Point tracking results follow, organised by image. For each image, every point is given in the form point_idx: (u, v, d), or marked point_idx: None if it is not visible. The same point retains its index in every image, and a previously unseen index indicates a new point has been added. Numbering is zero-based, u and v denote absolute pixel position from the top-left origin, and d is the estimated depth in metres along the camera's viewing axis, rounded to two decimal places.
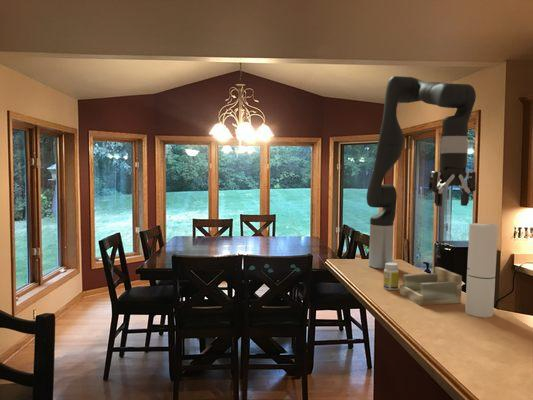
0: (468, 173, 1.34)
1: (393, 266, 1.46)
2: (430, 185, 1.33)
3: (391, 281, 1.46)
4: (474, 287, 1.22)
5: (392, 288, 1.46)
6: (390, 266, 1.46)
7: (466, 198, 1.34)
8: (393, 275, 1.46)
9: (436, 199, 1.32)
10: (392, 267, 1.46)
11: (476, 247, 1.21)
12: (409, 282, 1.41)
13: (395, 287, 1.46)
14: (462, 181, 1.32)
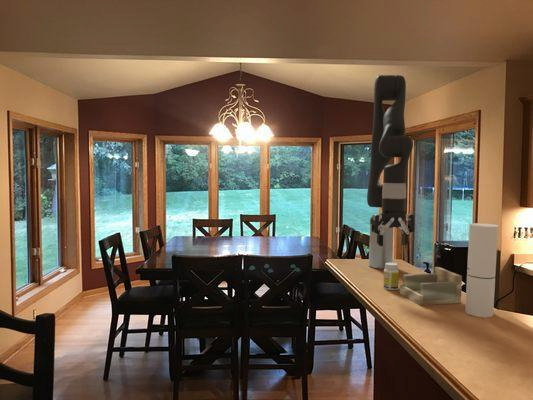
0: (407, 216, 1.47)
1: (393, 266, 1.46)
2: (373, 227, 1.46)
3: (391, 281, 1.46)
4: (474, 287, 1.22)
5: (392, 288, 1.46)
6: (390, 266, 1.46)
7: (406, 238, 1.47)
8: (393, 275, 1.46)
9: (378, 240, 1.46)
10: (392, 267, 1.46)
11: (476, 247, 1.21)
12: (409, 282, 1.41)
13: (395, 287, 1.46)
14: (401, 223, 1.46)
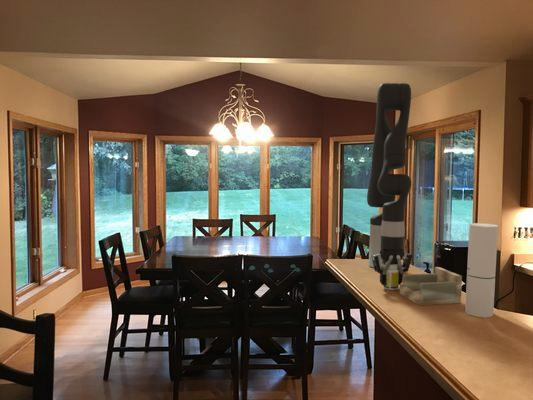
0: (406, 254, 1.48)
1: (393, 266, 1.46)
2: (375, 267, 1.48)
3: (391, 281, 1.46)
4: (474, 287, 1.22)
5: (392, 288, 1.46)
6: (390, 266, 1.46)
7: (400, 278, 1.48)
8: (393, 275, 1.46)
9: (381, 279, 1.47)
10: (392, 267, 1.46)
11: (476, 247, 1.21)
12: (409, 282, 1.41)
13: (395, 287, 1.46)
14: (398, 261, 1.47)
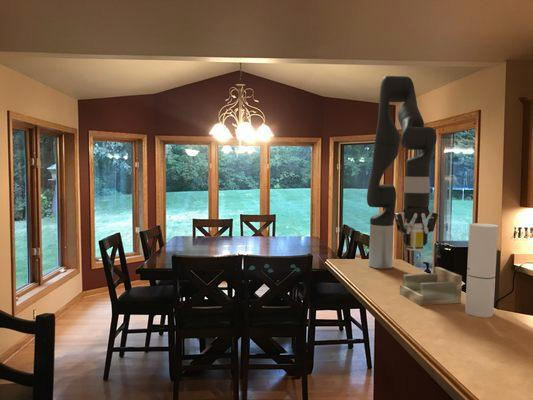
0: (431, 213, 1.40)
1: (418, 225, 1.37)
2: (398, 226, 1.39)
3: (415, 241, 1.37)
4: (474, 287, 1.22)
5: (417, 248, 1.37)
6: (414, 225, 1.38)
7: (425, 238, 1.39)
8: (417, 234, 1.37)
9: (404, 239, 1.39)
10: (416, 226, 1.37)
11: (476, 247, 1.21)
12: (409, 282, 1.41)
13: (420, 247, 1.38)
14: (423, 220, 1.38)
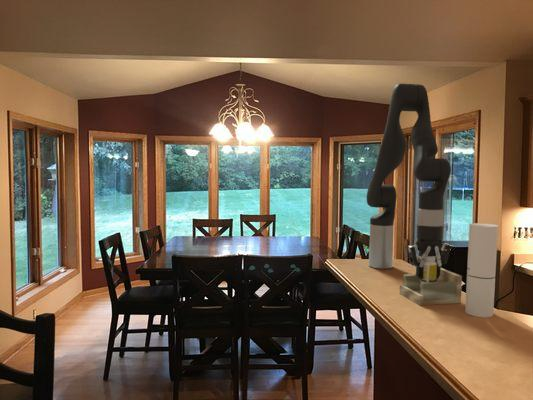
0: (444, 245, 1.37)
1: (431, 258, 1.35)
2: (411, 259, 1.37)
3: (429, 274, 1.35)
4: (474, 287, 1.22)
5: (430, 282, 1.35)
6: (428, 258, 1.35)
7: (438, 271, 1.37)
8: (431, 267, 1.35)
9: (417, 272, 1.36)
10: (430, 259, 1.35)
11: (476, 247, 1.21)
12: (409, 282, 1.41)
13: (433, 281, 1.35)
14: (437, 253, 1.36)
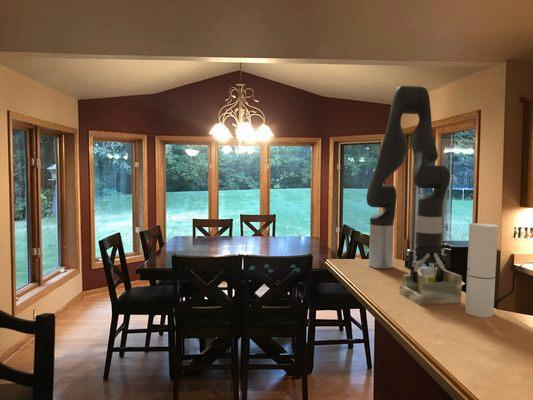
0: (443, 250, 1.38)
1: (429, 270, 1.36)
2: (406, 263, 1.37)
3: None
4: (474, 287, 1.22)
5: None
6: (426, 270, 1.36)
7: (441, 275, 1.37)
8: (429, 280, 1.35)
9: (412, 276, 1.36)
10: (428, 271, 1.36)
11: (476, 247, 1.21)
12: (409, 282, 1.41)
13: None
14: (437, 259, 1.36)
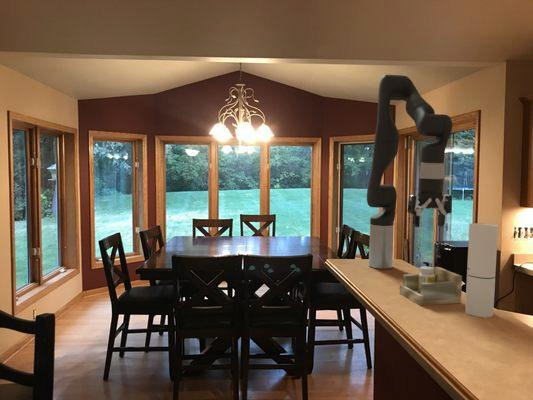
0: (445, 196, 1.44)
1: (429, 270, 1.36)
2: (409, 207, 1.44)
3: None
4: (474, 287, 1.22)
5: None
6: (426, 270, 1.36)
7: (442, 219, 1.45)
8: (429, 279, 1.35)
9: (414, 220, 1.44)
10: (428, 271, 1.36)
11: (476, 247, 1.21)
12: (409, 282, 1.41)
13: None
14: (439, 204, 1.43)
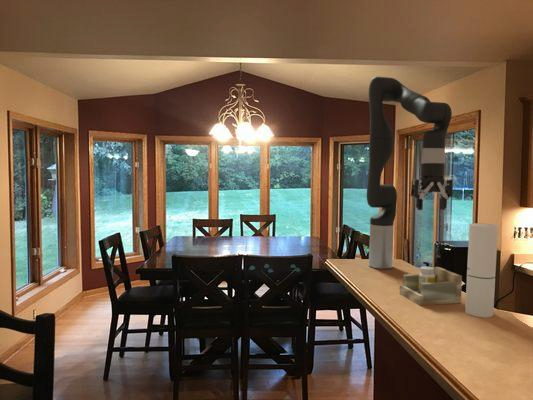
0: (446, 181, 1.51)
1: (429, 270, 1.36)
2: (412, 191, 1.50)
3: None
4: (474, 287, 1.22)
5: None
6: (426, 270, 1.36)
7: (444, 203, 1.51)
8: (429, 280, 1.35)
9: (417, 204, 1.50)
10: (428, 271, 1.36)
11: (476, 247, 1.21)
12: (409, 282, 1.41)
13: None
14: (440, 188, 1.50)
